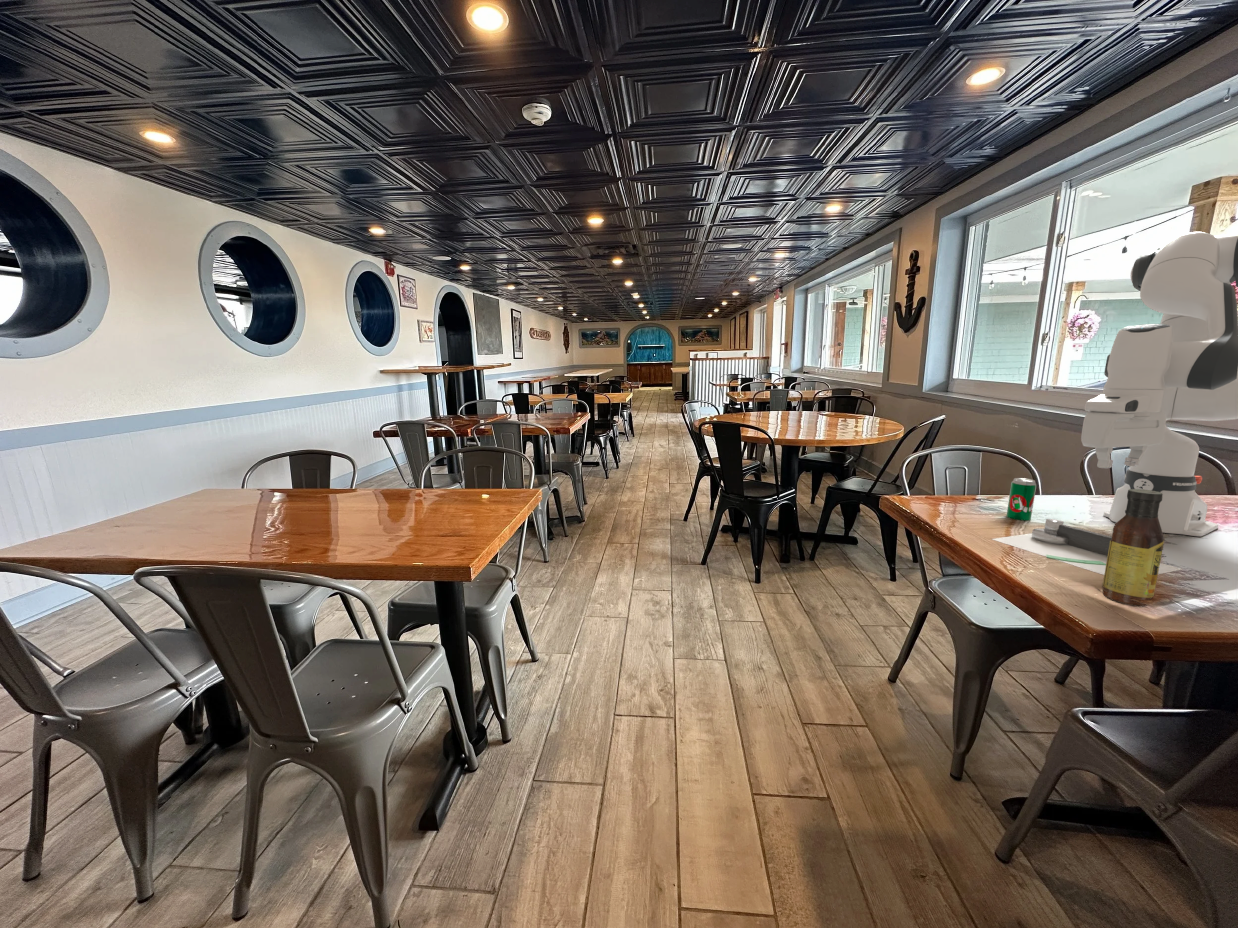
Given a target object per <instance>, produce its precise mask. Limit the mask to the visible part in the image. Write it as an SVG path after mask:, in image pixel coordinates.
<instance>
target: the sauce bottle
mask: <svg viewBox="0 0 1238 928" xmlns="http://www.w3.org/2000/svg"><path fill="white" fill-rule="evenodd" d="M1162 496H1163V494H1162V493H1161V492H1156V491H1151V490H1142V489H1129V490H1128V493H1127V499H1128V502H1127V508H1126V510H1125V513H1126V515H1125V516H1124V517H1123V518H1122V519H1120V520H1119V521H1118V522H1117V523H1116V522H1115V523H1114V525H1113V528H1112V534H1111V537H1112V539H1111V540H1110V545H1109V551H1108V557H1107V562H1106V568H1105V574H1104V575H1103V579H1102V588H1104V589H1102V594H1103V596H1105V597H1106V598H1107V599H1110V600H1112V601H1114V602H1117V603H1120V604H1124V605H1128V606H1129V605H1130V606H1135V607H1146V606H1148V604H1145V603H1142V602H1140V601H1142V600H1143V601H1151V600H1152V598H1153V597H1154V595H1155V591H1156V585H1157V581H1158V576H1159V574H1158V571H1159V566H1160V563H1161V561H1162V556H1163V549H1164V544H1165V536H1164V532H1162V529H1161V526H1160V523H1159V519H1158V510H1159V504H1160V502H1161V501H1162Z"/></svg>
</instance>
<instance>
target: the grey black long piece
mask: <svg viewBox="0 0 1238 928" xmlns="http://www.w3.org/2000/svg"><path fill="white" fill-rule="evenodd" d="M1031 533H1032V537H1033V538H1034V539H1036V540H1039V541H1042V542H1047V543H1052V544H1059V545H1070V546H1073V547H1077V548H1080V549H1084V550H1087V551H1091V552H1094V553H1098V554H1101V555H1105V556H1108V551H1109V545H1110V540H1111V539H1112V535H1111V536H1110V535H1106V534H1103V533H1099V532H1095V531H1091V530H1087V529H1083V528H1079V527H1074V526H1071V525H1068V524H1064V521H1062V520H1059V519H1055V518H1046V519H1045V522H1044V527H1043V528H1041V527H1040V528H1039V527H1038V528H1034V529H1032V532H1031Z"/></svg>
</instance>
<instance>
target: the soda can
mask: <svg viewBox="0 0 1238 928" xmlns="http://www.w3.org/2000/svg"><path fill="white" fill-rule="evenodd" d="M1036 489H1037V483H1036V480H1034V479H1031V478H1025V477H1024V478H1023V477H1014V478H1013V480H1012V481H1011V483H1010V490H1009V496H1008V497H1009V498H1008V503H1007V510H1006V516H1005V517H1007V518H1008V519H1012V520H1015V521H1023V522H1025V521H1031V520H1032V516H1033V515H1032V514H1033V510H1034V509H1033V507H1034V503H1035V502H1034V501H1035V496H1036Z"/></svg>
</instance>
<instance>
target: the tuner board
mask: <svg viewBox="0 0 1238 928" xmlns="http://www.w3.org/2000/svg"><path fill="white" fill-rule="evenodd" d="M991 540H992V541H996V542H999V543H1002V544H1004V545H1008V546H1011V547H1015V548H1018V549H1019V550H1020V549H1021V550H1024V551H1025V552H1026V551H1027V552H1030V553H1033V554H1036V555H1038V556H1039V555H1040V556H1043V557H1046V558H1047V559H1050V560H1051V559H1052V560H1055V561H1059V562H1061V563H1064V564H1068V565H1071V566H1074V567H1077V568H1080V569H1084V570H1087V571H1090V572H1093V573H1096V574H1100V575H1102V576H1104V574H1105V568H1106V562H1107V557H1108V556H1105V555H1101V554H1098V553H1094V552H1091V551H1087V550H1084V549H1080V548H1077V547H1073V546H1070V545H1059V544H1052V543H1047V542H1042V541H1039V540H1036V539H1034V538H1033V537H1032V532H1031V533H1030V532H1029V533H1026V534H1025V533H1024V534H1018V535H1017V534H1015V535H1011V536H1003V537H996V538H991ZM1182 570H1184V569H1183V568H1180V567H1176V566H1173V565H1170V564H1165V563H1161V562H1160V566H1159V571H1158V575H1163V574H1166V573H1171V572H1177V571H1182Z"/></svg>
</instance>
